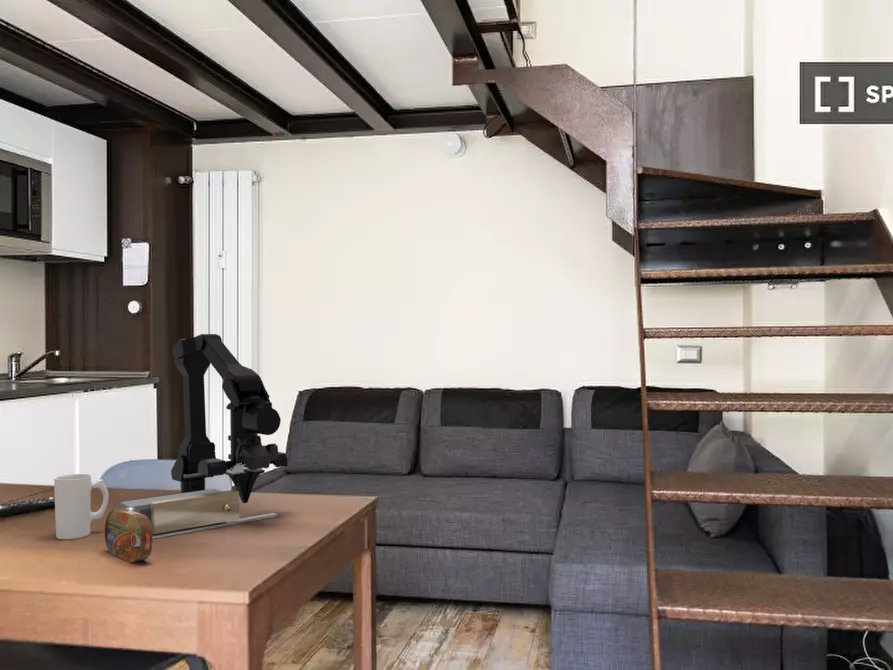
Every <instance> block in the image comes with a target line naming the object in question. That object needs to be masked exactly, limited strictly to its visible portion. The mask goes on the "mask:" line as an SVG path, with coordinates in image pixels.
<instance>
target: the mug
mask: <svg viewBox="0 0 893 670" xmlns="http://www.w3.org/2000/svg"><path fill="white" fill-rule="evenodd" d="M53 480H54V485H53V486H54V487H53V488H54V514H55V516H54V517H55V538H57V539H58V540H64V541H65V540H66V541H67V540H75V539H82V538H85V537H88V536H90V535H91V523H92V522H93V521H94V520H101V519H102V518H103V517H104V515H105V512H106V510H107V507H108V505H109V500H110V499H109V498H110V496H109V495H110V494H109V491H108V488H107V487H106V485H105V483H104V481H103V478H102V479H98V480H95V481H94V482H93V481H92V474H88V473H74V474H73V473H72V474H64V475H63V474H62V475H59V476H56V477H53ZM95 488H96V489H99V490H100V491H101V493H102V496H103V497H102V498H103V499H102V504H101V506H100V508H99V509H98V510H97V511H94V512H93V511H92V509H91V506H92V505H91V502H92V501H91V498H92V497H91V495H92V490H93V489H95Z"/></svg>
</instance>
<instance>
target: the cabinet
mask: <svg viewBox="0 0 893 670" xmlns="http://www.w3.org/2000/svg"><path fill="white" fill-rule="evenodd" d="M217 492H223V491H222V490H219V489H216V488H210V489H206V490H202V491H195V492H188V493H181V492H180V493H175V494H168V495H162V496H161V495H160V496H156V497H148V498H140V499H139V498H138V499H134V500H125V501H120V502H119V510H122V509H126V508H127V507H135V512H137V513H140V514H143V515H146V516H147V517H148V518H149V520H150V522H151V502H157V501H164V500H170V499H177V498H184V497H191V496H197V495H204V494H211V493H217ZM153 534H154V533H153Z"/></svg>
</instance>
